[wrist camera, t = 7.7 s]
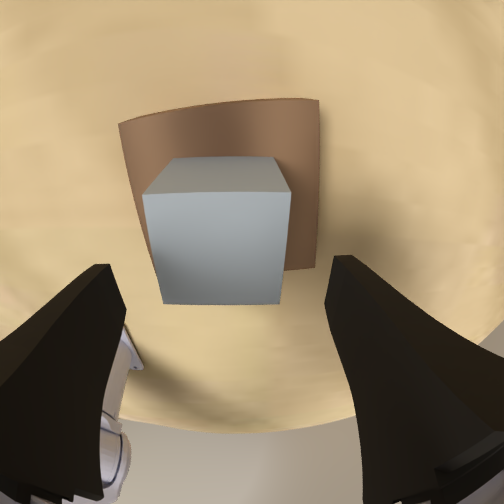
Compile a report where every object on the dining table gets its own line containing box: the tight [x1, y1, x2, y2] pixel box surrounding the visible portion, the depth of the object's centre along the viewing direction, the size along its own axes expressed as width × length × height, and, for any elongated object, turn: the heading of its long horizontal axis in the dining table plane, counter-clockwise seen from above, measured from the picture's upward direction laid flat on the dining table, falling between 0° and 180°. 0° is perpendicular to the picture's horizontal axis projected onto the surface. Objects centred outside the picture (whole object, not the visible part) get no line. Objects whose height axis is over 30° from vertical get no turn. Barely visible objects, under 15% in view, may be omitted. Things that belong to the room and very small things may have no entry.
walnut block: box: [118, 98, 320, 279], centre depth 16 cm, size 10×10×4 cm
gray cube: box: [142, 156, 291, 305], centre depth 12 cm, size 5×5×5 cm
